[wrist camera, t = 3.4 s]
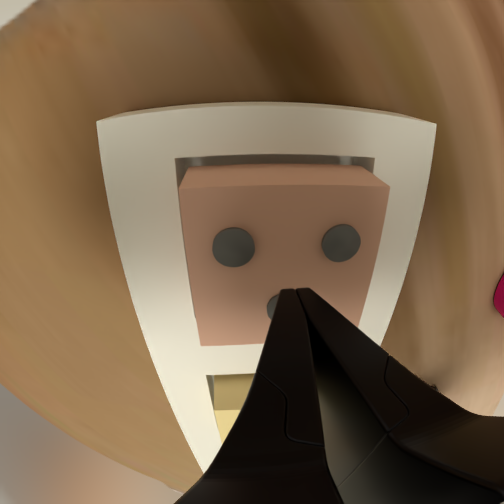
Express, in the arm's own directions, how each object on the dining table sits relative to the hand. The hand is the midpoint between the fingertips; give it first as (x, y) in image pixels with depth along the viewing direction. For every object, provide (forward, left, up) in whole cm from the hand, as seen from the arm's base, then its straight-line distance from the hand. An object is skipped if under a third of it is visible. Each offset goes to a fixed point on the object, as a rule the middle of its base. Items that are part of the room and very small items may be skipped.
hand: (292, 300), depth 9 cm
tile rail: (0, +11, -6) cm, 13 cm away
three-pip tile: (0, 0, -3) cm, 3 cm away
